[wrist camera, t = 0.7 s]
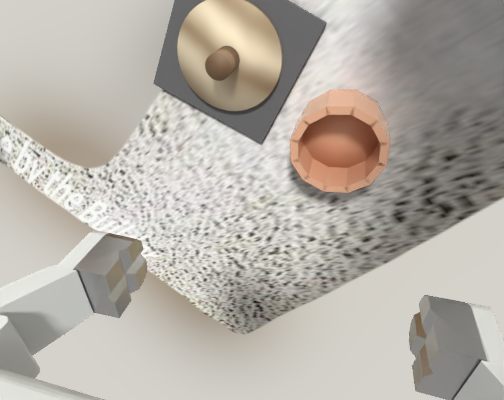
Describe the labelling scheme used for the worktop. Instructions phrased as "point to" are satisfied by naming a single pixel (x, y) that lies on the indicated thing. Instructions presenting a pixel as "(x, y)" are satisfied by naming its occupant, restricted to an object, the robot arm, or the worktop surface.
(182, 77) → the mat
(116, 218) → the worktop surface
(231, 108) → the lid
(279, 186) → the worktop surface
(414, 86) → the worktop surface
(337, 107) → the bowl
